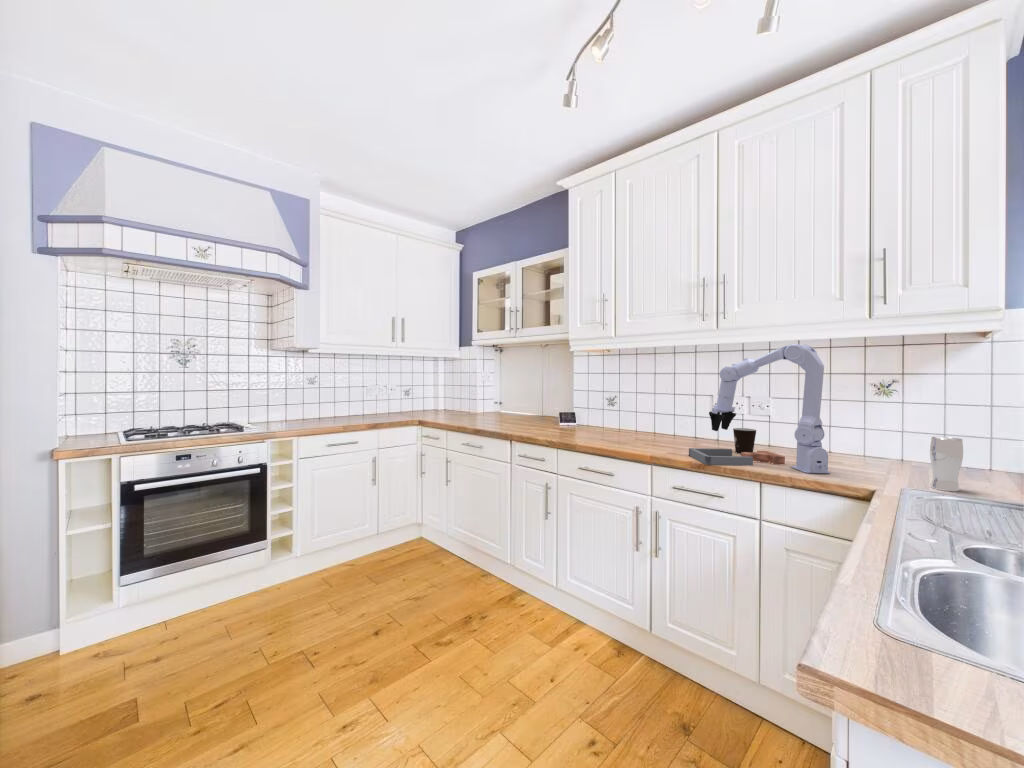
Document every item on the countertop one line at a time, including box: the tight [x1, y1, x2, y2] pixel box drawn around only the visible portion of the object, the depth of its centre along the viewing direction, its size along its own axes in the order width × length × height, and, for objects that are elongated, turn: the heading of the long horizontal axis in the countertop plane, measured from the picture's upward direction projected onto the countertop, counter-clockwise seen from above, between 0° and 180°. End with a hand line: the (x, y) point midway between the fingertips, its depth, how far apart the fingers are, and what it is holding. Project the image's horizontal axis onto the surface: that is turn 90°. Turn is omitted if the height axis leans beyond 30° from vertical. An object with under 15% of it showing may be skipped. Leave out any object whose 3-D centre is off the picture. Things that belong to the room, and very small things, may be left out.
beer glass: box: [929, 436, 964, 493], centre depth 131 cm, size 7×7×15 cm
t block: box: [740, 450, 786, 465], centre depth 170 cm, size 12×12×3 cm
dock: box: [688, 447, 754, 466], centre depth 170 cm, size 18×16×3 cm
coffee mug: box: [732, 427, 757, 454], centre depth 188 cm, size 12×9×10 cm
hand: (719, 429), depth 179 cm, fingers open, 7 cm apart
